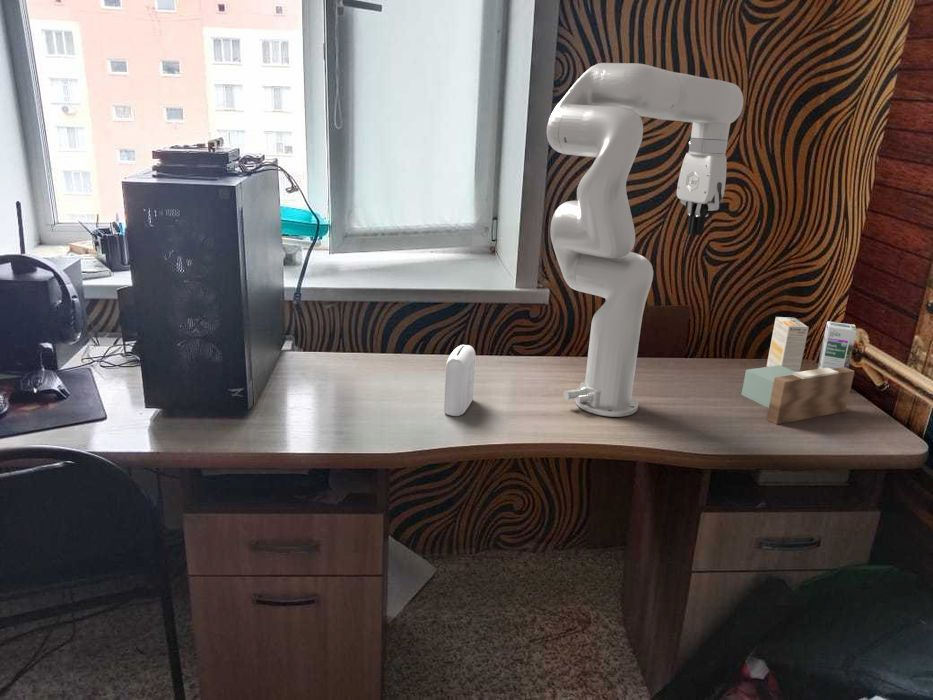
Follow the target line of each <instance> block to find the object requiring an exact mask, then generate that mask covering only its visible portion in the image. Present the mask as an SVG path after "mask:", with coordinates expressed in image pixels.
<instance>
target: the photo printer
mask: <svg viewBox="0 0 933 700" xmlns="http://www.w3.org/2000/svg"><path fill="white" fill-rule="evenodd" d="M476 356H477V355H476V350H475V349H474V347H473V346H472V345H469V344H460V345H458V346H457V347H456V348H454V349H453V351H452V352H451V353H450V355H449V356H448V358H447V360H446V363H445V364H446V365H445V376H444V377H445V379H444V382H445V383H444V396H443V397H444V399H443V401H444V402H443V411H444V413H445V415H448V416H452V417H459V416H462V415H463V414H464V413H465V412H466V411H467V409H468V408H469V407H470V405H471V403H473V399H474V387H475V373H476V372H475V369H476V368H475V367H476Z"/></svg>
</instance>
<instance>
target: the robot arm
mask: <svg viewBox="0 0 933 700" xmlns="http://www.w3.org/2000/svg"><path fill="white" fill-rule="evenodd" d="M743 107H744V95H743V92H742V90H741V88H740V87H739V86H738V85H737V84H736V83H732V82H729V81H725V80H720V79H715V78H707V77H703V76H697V75H693V74H687V73H681V72H676V71H670V70H667V69H664V68H660V67H656V66H653V65H649V64H645V63H644V64H643V63H635V62H634V63H633V62H632V63H631V62H630V63H629V62H626V63H625V62H624V63H623V62H621V63H620V62H599V63H596V64H595V65H592V66H590V67H589V68H588V69H587V70H586V71H585V72H583V73H582V74H581V75H580V76H579V78H577V80H576V81H575V82H574V83H573V84H572V86H571V87H570V88H569V89H568V91H567V92H566V93H565V95H564V96H563V97H562V98H561V100H560V101H559V102H558V103H557V104H556V106H555V107H554V109H553V110H552V112H551V114H550V116H549V117H548V122H547V125H546V139H547V142H548V144H549V146H550V147H551V148H552V149H553V150H555V152H557V153H560V154H562V155H563V154H564V155H567V156H577V157H578V156H579V157H589V158H595V159H594V161H593V163H592V164H591V166H590V167H589V169H588V170H587V171H586V173H584V175H583V176H582V177H581V179H580V181H579V183H578V185H577V188H576V199H577V200H569V201H565V202H563V203H562V204H560V205H559V206H558V207H557V208H556V209H555V210H554V212H553V216H552V217H551V222H550V228H549V231H550V232H549V233H550V240H551V244H552V247H553V248H552V249H553V250H554V253H555V256H556V259H557V263H558V266H559V267H560V271H561V274H562V277H563V279H564V281H565V283H566V284H567V286H569V288H570V289H572V290H574V291H577V292H580V293H585V294H588V295H593V296H598V297H599V298H602V299H603V298H604V299H605V301H604V303H603V304H602V305H601V306H600V307H599V309H598V310H597V311H596V312H595V313H594V314H593V317H592V320H591V324H590V325H591V326H590V333H589V342H588V343H589V345H588V352H587V362H586V371H585V379H584V381H582V382H579V383H580V385H579V386H578V387H577V388H576V389H567V390H564V391H563V395H562V396H563V398H564V400H565V401H569V400H575V402H574V403H575V404H576V405H577V406H578V407H579V408H580V409H582V410H583V411H586V412H588V413H590V414H594V415H597V416H602V417H603V416H604V417H610V418H611V417H613V418H615V417H617V418H622V417H628V416H631V415H633V414H635V413H637V411H638V409H639V401H638V400H637V399H636V398H635V397H633V388H634V387H633V386H634V379H635V373H636V365H637V358H638V351H639V342H640V335H641V328H642V321H643V315H644V310H645V306H646V302H647V299H648V295H649V293H650V290H651V286H652V282H653V280H654V279H653V278H654V269H653V265H652V263H651V262H650V261H649V259H648V258H646V257H645V256H643V255H641V254H639V253H636V252H633V249H634V246H635V243H636V231H635V224H634V220H633V216H632V212H631V207H630V204H629V203H630V202H629V199H628V195H627V194H628V193H627V181H628V176H629V174H630V172H631V169H632V166H633V164H634V162H635V160H636V156H637V154H638V151H639V150H640V147H641V144H642V141H643V137H644V135H643V134H644V124H643V120H642V118H641V117H645V118H650V119H651V118H652V119H655V120H656V119H657V120H664V121H674V122H675V121H678V122H679V121H680V122H684V123H692V127H691V134H690V140H689V142H688V146H689V147H688V152H685V153H686V154H685V156H684V158H683V161H682V165H681V168H680V171H679V177H678V181H677V187H676V188H677V189H676V197H677V198H678V199H679V200H680V201H679V203H680V204H682V205H683V206H685V207H686V209H687V210H686V211H687V212H686V213H687V215H688V220H687V221H688V223H687V229H686V234H687V235H691V236H702V235H703V233H704V229H705V223H706V222H705V221H706V218H707V217H708V216H709V214H710V213H711V211H718V210H720V209H719V208H720V203H721V202H723V198H724V196H725V189H726V180H727V168H728V167H727V156H726V153H727V145H728V140H729V133H730V128H731V124H732V123H734V122H736V120H737V119H738V118H739V116H741V113H742V110H743Z"/></svg>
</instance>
